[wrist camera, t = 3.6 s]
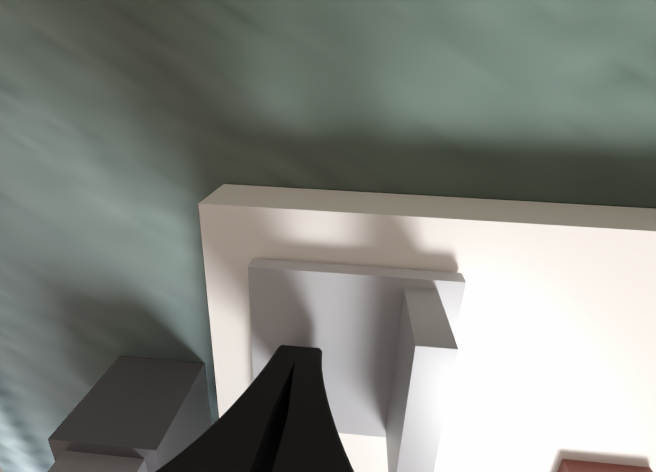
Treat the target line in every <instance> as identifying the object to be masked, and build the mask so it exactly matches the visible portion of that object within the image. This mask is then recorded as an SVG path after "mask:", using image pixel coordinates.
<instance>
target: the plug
mask: <svg viewBox="0 0 656 472" xmlns="http://www.w3.org/2000/svg"><path fill="white" fill-rule="evenodd" d="M210 427H211V417H210V408H209V399H208V390H207V381H206V371H205V363H195V362H183V361H172V360H160V359H149V358H137V357H126V356H120V357H119V358H118V359H117V360H116V362H115V363H114V364H113V365H112V366H111V367H110V369H109V370H108V371H107V372H106V373H105V374H104V375H103V377H102V378H101V379H100V380H99V381H98V382H97V383H96V385H95V386H94V387H93V388H92V389H91V390H90V391H89V393H88V394H87V395H86V396H85V397H84V398H83V400H82V401H81V402H80V403H79V404H78V405H77V406H76V408H75V409H74V410H73V411H72V412H71V413H70V414H69V416H68V417H67V418H66V419H65V420H64V421H63V423H62V424H61V425H60V426H59V427H58V428H57V429H56V431H55V432H54V433H53V434H52V435H51V436H50V437H49V439H48V441H49V444H50V447H51V450H52V453H53V456H54V459H55V463H54V464H53V466H52V467H51V468H50V469H49V471H48V472H155V471H156V470H158V469H159V468H161V467H162V466H163V465H165V464H166V463H168V462H169V461H170V460H172V459H173V458H174V457H176V456H177V455H178V454H179V453H181V452H182V451H183V450H184V449H185V448H187V447H188V446H189V445H190V444H191V443H193V442H194V441H195V440H196V439H197V438H199V437H200V436H201V435H202V434H203V433H204V432H205V431H206V430H208V429H209V428H210Z"/></svg>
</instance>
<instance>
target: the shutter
mask: <svg viewBox="0 0 656 472" xmlns="http://www.w3.org/2000/svg"><path fill="white" fill-rule="evenodd" d="M248 282H249V303H250V323H251V343H252V364H253V381H254V379H255V378H256V377H257V376H258V375H259V373H260V372H261V371H262V369H263V368H264V367H265V365H266V364H267V363H268V361H269V360H270V359H271V357H272V356H273V354H274V353H275V351H276V350H277V348H278V347H279V346H281V345H290V346H302V347H314V348H320V349H321V350H322V373H323V380H324V385H325V390H326V394H327V398H328V403H329V406H330V410H331V413H332V416H333V419H334V423H335V426H336V429H337V431H338V433H345V434H355V435H366V436H376V437H386V446H387V461H388V472H434V468H435V463H436V458H437V453H438V448H439V443H440V439H441V434H442V429H443V424H444V419H445V414H446V409H447V404H448V399H449V394H450V389H451V384H452V379H453V374H454V369H455V365H456V360H457V355H458V350H459V349H458V346H457V344H456V341H455V336H456V331H457V326H458V321H459V316H460V311H461V305H462V300H463V295H464V290H465V285H466V281H465V279H464V277H463V275H462V273H455V272H441V271H427V270H412V269H398V268H383V267H369V266H354V265H340V264H325V263H311V262H296V261H282V260H267V259H252V261H251V262H250V264H249V266H248Z"/></svg>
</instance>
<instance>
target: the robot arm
mask: <svg viewBox="0 0 656 472" xmlns="http://www.w3.org/2000/svg"><path fill="white" fill-rule="evenodd" d="M155 472H354V470H353V468H352V466H351V464H350V461H349V459H348V457H347V454H346V452H345V450H344V447H343V445H342V442H341V440H340V437H339V434H338V431H337V429H336V426H335V423H334V419H333V416H332V413H331V410H330V406H329V403H328V398H327V394H326V390H325V385H324V380H323V373H322V350H321V349H320V348H314V347H302V346H290V345H281V346H279V347H278V348H277V350H276V351H275V353H274V354H273V356H272V357H271V359H270V360H269V361H268V363H267V364H266V365H265V367H264V368H263V369H262V371H261V372H260V373H259V375H258V376H257V377H256V378H255V379H254V381H253V382H252V383H251V384H250V386H249V387H248V388H247V389H246V390H245V392H244V393H243V394H242V395H241V396H240V397H239V398H238V399H237V400H236V401H235V403H234V404H233V405H232V406H231V407H230V408H229V409H228V410H227V411H226V412H225V413H224V414H223V415H222V416H221V417H220V418H219V419H218V420H217V421H216V422H215V423H214V424H213V425H212V426H211V427H210V428H209V429H208V430H206V431H205V432H204V433H203V434H202V435H201V436H200V437H199V438H197V439H196V440H195V441H194V442H193V443H191V444H190V445H189V446H188V447H187V448H185V449H184V450H183V451H182V452H181V453H179V454H178V455H177V456H176V457H174V458H173V459H172V460H170V461H169V462H168V463H166V464H165V465H163V466H162V467H161V468H159V469H158V470H156V471H155Z"/></svg>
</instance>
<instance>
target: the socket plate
mask: <svg viewBox="0 0 656 472" xmlns="http://www.w3.org/2000/svg"><path fill="white" fill-rule="evenodd" d="M198 205H199V215H200V226H201V236H202V246H203V257H204V267H205V277H206V288H207V298H208V308H209V318H210V329H211V339H212V349H213V360H214V370H215V380H216V391H217V401H218V411H219V418H220V417H221V416H222V415H223V414H224V413H225V412H226V411H227V410H228V409H229V408H230V407H231V406H232V405H233V404H234V403H235V401H236V400H237V399H238V398H239V397H240V396H241V395H242V394H243V393H244V392H245V390H246V389H247V388H248V387H249V386H250V384H251V383H252V382H253V364H252V343H251V323H250V303H249V282H248V266H249V264H250V262H251V261H252V259H267V260H282V261H296V262H311V263H325V264H340V265H354V266H369V267H383V268H398V269H412V270H427V271H441V272H455V273H462V275H463V277H464V279H465V281H466V285H465V290H464V295H463V300H462V305H461V311H460V316H459V321H458V326H457V331H456V336H455V341H456V344H457V346H458V349H459V350H458V355H457V360H456V365H455V369H454V374H453V379H452V384H451V389H450V394H449V399H448V404H447V409H446V414H445V419H444V424H443V429H442V434H441V439H440V443H439V448H438V453H437V458H436V463H435V468H434V472H656V209H653V208H636V207H618V206H600V205H583V204H565V203H548V202H530V201H513V200H495V199H478V198H460V197H442V196H425V195H407V194H390V193H372V192H355V191H337V190H320V189H302V188H284V187H267V186H249V185H232V184H223V185H222V186H221V187H219V188H218V189H217V190H215V191H214V192H213V193H212V194H210V195H209V196H208V197H206V198H205V199H204V200H202V201H201V202H200V203H198ZM338 434H339V437H340V440H341V442H342V445H343V447H344V450H345V452H346V454H347V457H348V459H349V461H350V464H351V466H352V468H353V470H354V472H388V461H387V446H386V437H376V436H366V435H355V434H345V433H338Z"/></svg>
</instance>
